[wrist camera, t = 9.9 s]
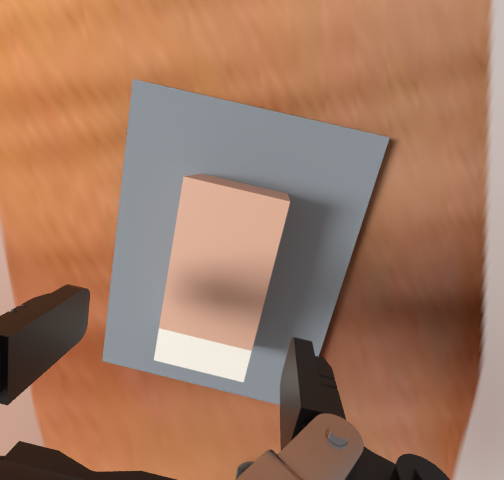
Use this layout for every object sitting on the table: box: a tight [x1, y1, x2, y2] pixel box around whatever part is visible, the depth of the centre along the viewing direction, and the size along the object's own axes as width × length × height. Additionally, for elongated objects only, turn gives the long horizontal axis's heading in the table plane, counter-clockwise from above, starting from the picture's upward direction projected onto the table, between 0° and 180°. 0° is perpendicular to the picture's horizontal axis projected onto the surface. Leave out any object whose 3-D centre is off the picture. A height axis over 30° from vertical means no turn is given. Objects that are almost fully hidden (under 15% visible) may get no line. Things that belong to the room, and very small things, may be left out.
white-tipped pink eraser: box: [154, 173, 290, 382], centre depth 17 cm, size 10×5×4 cm, turn 167°
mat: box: [102, 79, 390, 405], centre depth 19 cm, size 18×14×1 cm
